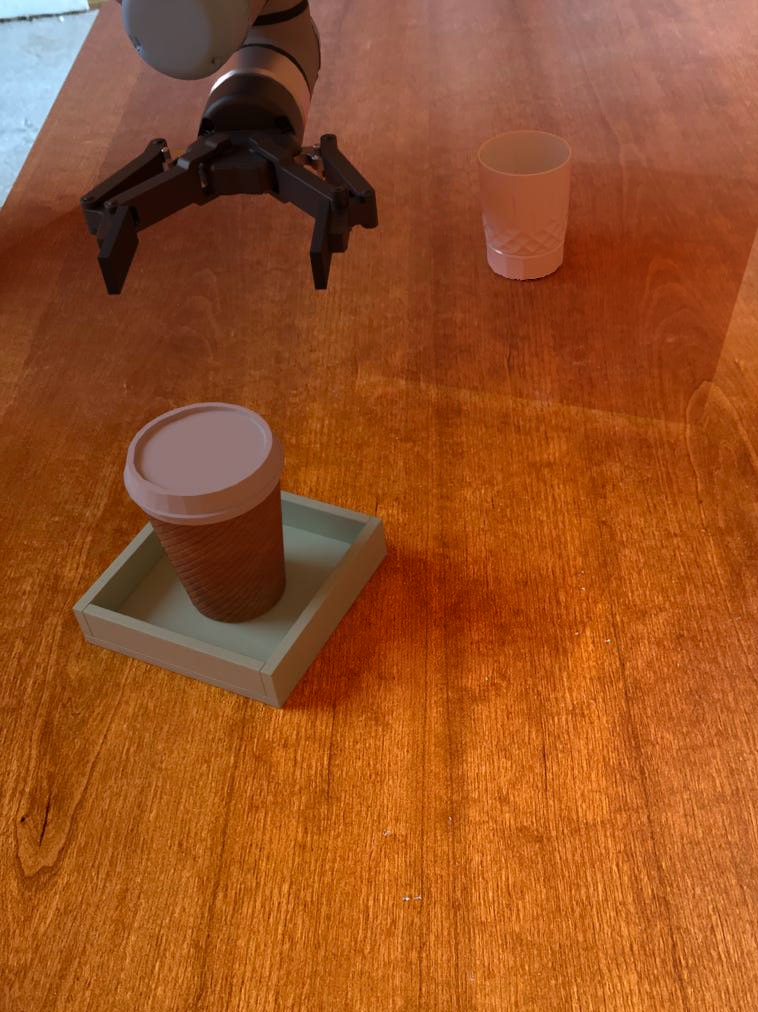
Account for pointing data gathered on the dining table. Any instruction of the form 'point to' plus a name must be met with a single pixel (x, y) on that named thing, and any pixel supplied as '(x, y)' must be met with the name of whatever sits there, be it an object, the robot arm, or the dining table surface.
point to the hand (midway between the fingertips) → (213, 274)
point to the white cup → (524, 201)
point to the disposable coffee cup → (214, 504)
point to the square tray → (248, 644)
